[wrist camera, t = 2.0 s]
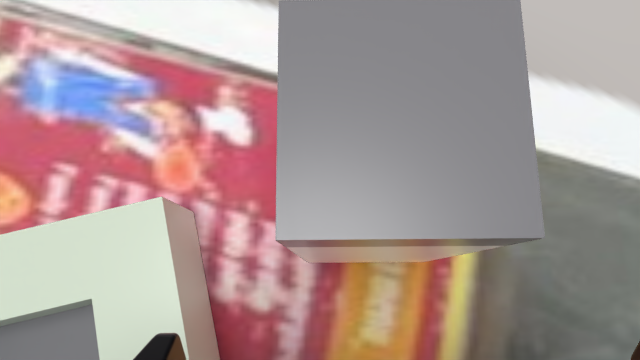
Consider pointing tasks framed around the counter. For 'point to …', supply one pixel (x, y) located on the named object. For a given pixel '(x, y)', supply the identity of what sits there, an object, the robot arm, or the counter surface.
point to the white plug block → (403, 130)
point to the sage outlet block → (105, 286)
